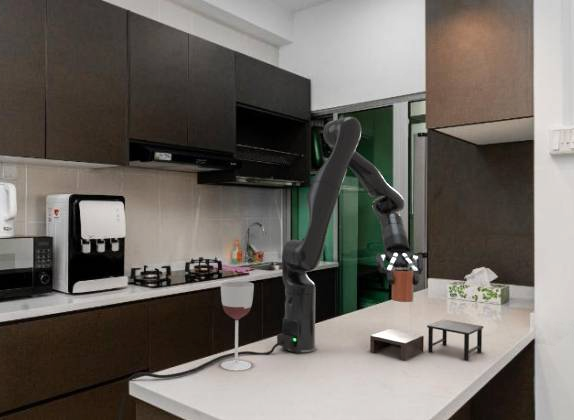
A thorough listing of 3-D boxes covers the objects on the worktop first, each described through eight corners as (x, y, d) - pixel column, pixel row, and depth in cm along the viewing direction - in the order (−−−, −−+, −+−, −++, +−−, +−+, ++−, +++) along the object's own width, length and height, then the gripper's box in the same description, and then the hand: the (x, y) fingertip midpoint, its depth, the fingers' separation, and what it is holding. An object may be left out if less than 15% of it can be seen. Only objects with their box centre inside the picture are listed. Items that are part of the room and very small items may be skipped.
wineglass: (257, 362, 131) (259, 283, 131) (243, 373, 122) (244, 288, 122) (229, 357, 135) (230, 280, 135) (213, 368, 126) (214, 285, 126)
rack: (468, 361, 135) (468, 333, 135) (426, 351, 143) (427, 325, 143) (483, 352, 143) (483, 326, 143) (442, 344, 152) (443, 319, 152)
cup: (407, 303, 138) (407, 271, 138) (387, 299, 143) (388, 269, 143) (416, 300, 143) (417, 270, 143) (397, 297, 147) (397, 268, 147)
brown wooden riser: (404, 360, 134) (405, 343, 134) (370, 352, 142) (370, 335, 142) (423, 352, 143) (423, 335, 143) (389, 344, 151) (389, 328, 151)
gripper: (374, 232, 151) (381, 275, 139) (420, 233, 149) (432, 276, 138) (370, 248, 156) (377, 290, 144) (415, 248, 155) (426, 291, 143)
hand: (404, 283), depth 141 cm, fingers closed on cup, 6 cm apart
